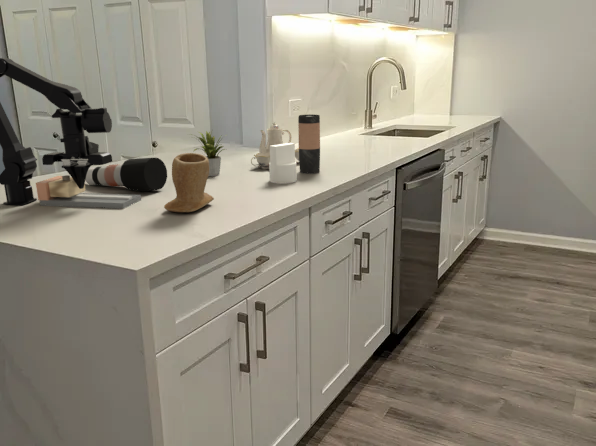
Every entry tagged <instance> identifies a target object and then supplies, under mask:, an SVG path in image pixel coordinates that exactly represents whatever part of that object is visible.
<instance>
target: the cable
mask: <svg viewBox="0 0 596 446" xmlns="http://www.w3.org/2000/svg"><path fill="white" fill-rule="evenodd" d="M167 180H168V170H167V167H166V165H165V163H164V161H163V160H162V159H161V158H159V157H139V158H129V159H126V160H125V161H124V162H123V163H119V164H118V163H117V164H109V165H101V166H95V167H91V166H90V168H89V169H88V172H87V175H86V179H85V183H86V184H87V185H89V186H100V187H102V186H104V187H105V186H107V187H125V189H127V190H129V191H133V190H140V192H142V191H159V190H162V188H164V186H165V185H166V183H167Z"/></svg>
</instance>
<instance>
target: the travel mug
mask: <svg viewBox="0 0 596 446" xmlns="http://www.w3.org/2000/svg"><path fill="white" fill-rule="evenodd" d="M320 119H321V118H320V114H300V115H298V119H297V120H298V122H297V123H298V124H297V125H298V128H297V129H298V148H299V161H298V163H299V172H300V173H301V174H304V175H305V174H306V175H308V174H309V175H311V174H312V175H313V174H318V173H320V172H321V171H320V169H321V168H320V167H321V163H320V162H321V121H320Z"/></svg>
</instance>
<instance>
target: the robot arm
mask: <svg viewBox="0 0 596 446" xmlns="http://www.w3.org/2000/svg"><path fill="white" fill-rule="evenodd" d="M5 76H7V77H8V78H9V79H12V80H14V81H16V82H17V83H20V84H22V85H23V86H26V87H28V88H29V89H31V90H34V91H36V92H38V93H40V94H42V95H43V96H44V97H45V98H46V99H47V100H48V101H49V102H50V103H51V104H53V105H54V106H55V107H57V108H56V110H55V112H54V113H53V114H52V115H51V118H52V119H59V122H60V128H61V133H62V137H61V138H59V141H60V143H63V147H64V151H63V152H62V151H57V152H56V151H53V152H49V153H46V154H43V156H42V158H41V160H42V165H43V166H52V165H54V163H55V162H56V163H59V162H60V163H62V165H61V166H60V167H61V169H64V170H65V171H66V172H67V174H68V175H69V176H70V177H72V178H73V180H74V181H75V183H76V184H77V186H78V187H79V188H80V189H82V188H84V184H85V183H86V180H85V179H86V175H87V172H88V169H89V168H90V167H91V166H105V165H106V164H109V163H112V162H113V156H112V154H111V153H110V152H109V151H100V152H99V148H100V146H99V144H98V143H95V142H92V141H90V140H89V137H88V135H86V134H85V131H86V133H88V134H101V133H102V134H103V133H105V134H106V133H107V134H108V133H111V131H112V127H113V121H112V118H111V116H110V113H109V112H108V110H107V107H99V108H92V107H91V106H90V104H89V103H88V102H87V101H86V100H85V98H83V95H82V92H81V91H80V89H78V88H76V87H74V86H72V85H68V84H65V83H60V82H56V81H53V80H50V79H48V78H47V77H44V76H42V75H40V74H38V73H37V72H35V71H34V70H33V71H32V70H31V69H28V68H27V67H25V66H23V65H21V64H19V63H17V62H15V61H14V60H13V59H11V58H9V57H7V58H6V57H5V58H4V57H1V58H0V79H1V78H3V77H5ZM65 110H66V111H65ZM0 147H1V149H2V163H3V167H4V169H3V170H2V171H1V173H0V185H1V186H4V192H5V197H6V201H4V202H2V205H10V206H11V205H13V206H23V205H26V204H29V203H31V202H35V201H37V199H38V198H37V197H36V198H35V197H34V192H33V187H32V185H31V179H33V176H34V172H36V169H37V167H38V165H37V164H38V163H37V161H38V158H37V157H36V156H35V155H34V151H33V149H32V148H31V147H30V146H28V147H25V146H24V145H22V143H21V142H20V141H19V138H18V136H17V134H16V132H15V130H14V128H13V125H12V124H11V121H10V120H9V117H8V115H7V113H6V110H5V109H4V107H3V105H2V103H1V102H0ZM85 185H86V184H85Z"/></svg>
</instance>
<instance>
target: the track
mask: <svg viewBox="0 0 596 446" xmlns="http://www.w3.org/2000/svg"><path fill="white" fill-rule="evenodd" d="M62 176H63V175H56V176H53V177H50V178H47V179H43V180H40V181H37V182H35V186H36V193H37V199H38V201H39V206H45V207H46V206H47V207H48V206H49V207H51V206H52V207H74V208H75V207H76V208H96V207H103V208H102V209H122V208H124V209H126V208H128V207H130V206H131V204H132V205H134V204H136V203H138V202H140V201H142V195H141V194H126V193H125V194H124V193H123V194H121V193H94V192H93V193H91V192H90V193H89V192H82V193H79V194H76V195H74V196H71V197H50V191H49V184H48V183H49V182H52V181H55V180H58V179H61V178H62ZM139 200H140V201H139ZM137 201H138V202H137ZM135 202H136V203H135ZM133 203H134V204H133ZM129 205H130V206H129ZM127 206H128V207H127ZM104 207H105V208H104ZM125 207H126V208H125Z"/></svg>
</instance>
